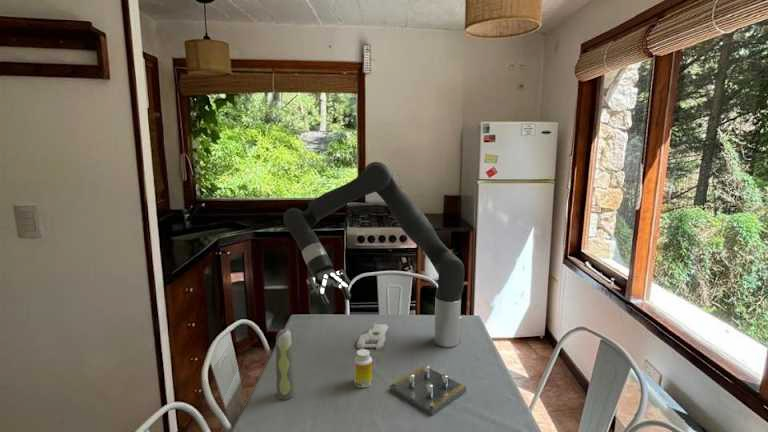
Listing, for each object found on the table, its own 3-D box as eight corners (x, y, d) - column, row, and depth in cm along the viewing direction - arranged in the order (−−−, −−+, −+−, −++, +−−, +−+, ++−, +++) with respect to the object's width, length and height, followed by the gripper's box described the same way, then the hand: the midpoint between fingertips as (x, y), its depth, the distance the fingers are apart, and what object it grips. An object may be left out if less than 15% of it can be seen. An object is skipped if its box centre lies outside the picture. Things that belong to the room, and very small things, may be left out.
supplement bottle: (375, 385, 124) (375, 354, 122) (358, 390, 122) (358, 358, 120) (367, 376, 129) (367, 346, 127) (351, 380, 127) (351, 350, 125)
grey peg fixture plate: (424, 370, 133) (425, 355, 132) (466, 391, 122) (466, 376, 121) (389, 390, 122) (390, 374, 121) (431, 415, 111) (432, 398, 110)
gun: (364, 320, 162) (389, 322, 161) (364, 328, 163) (389, 330, 162) (355, 344, 145) (383, 346, 144) (355, 352, 146) (383, 355, 144)
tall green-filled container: (293, 399, 117) (291, 334, 113) (276, 401, 116) (273, 335, 113) (294, 389, 122) (292, 326, 118) (277, 391, 121) (275, 327, 117)
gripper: (303, 257, 128) (325, 302, 122) (339, 250, 138) (361, 291, 132) (294, 269, 133) (315, 313, 127) (329, 261, 143) (350, 302, 137)
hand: (338, 302), depth 130 cm, fingers open, 8 cm apart
